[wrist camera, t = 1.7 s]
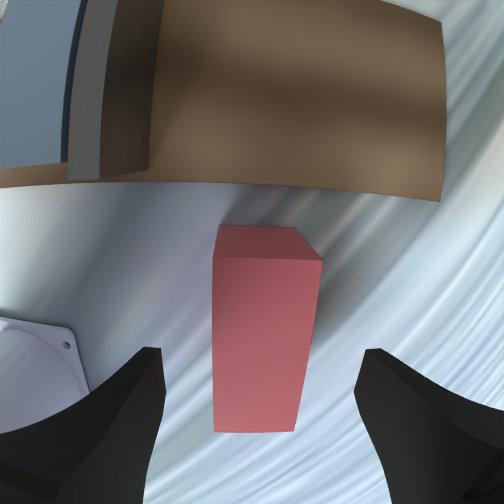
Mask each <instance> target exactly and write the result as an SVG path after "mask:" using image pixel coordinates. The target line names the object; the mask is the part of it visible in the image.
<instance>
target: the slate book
mask: <svg viewBox="0 0 504 504" xmlns="http://www.w3.org/2000/svg"><path fill="white" fill-rule="evenodd" d="M87 3H88V0H9V1H8V4H7V7H6V10H5V13H4V17H3V20H2V24H1V28H0V169H7V168H15V167H23V166H32V165H42V164H53V163H65V162H68V141H69V121H70V108H71V97H72V87H73V79H74V71H75V64H76V57H77V51H78V45H79V40H80V35H81V29H82V25H83V20H84V15H85V11H86V7H87Z"/></svg>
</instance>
